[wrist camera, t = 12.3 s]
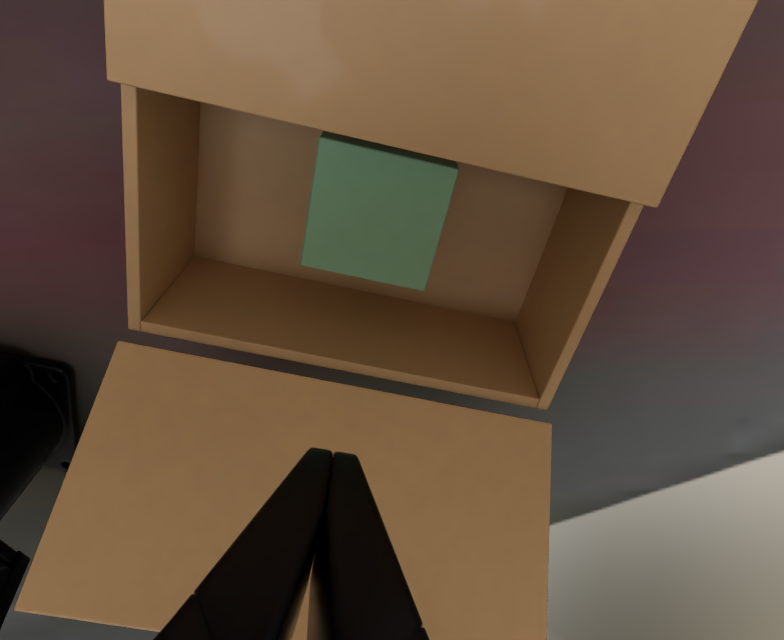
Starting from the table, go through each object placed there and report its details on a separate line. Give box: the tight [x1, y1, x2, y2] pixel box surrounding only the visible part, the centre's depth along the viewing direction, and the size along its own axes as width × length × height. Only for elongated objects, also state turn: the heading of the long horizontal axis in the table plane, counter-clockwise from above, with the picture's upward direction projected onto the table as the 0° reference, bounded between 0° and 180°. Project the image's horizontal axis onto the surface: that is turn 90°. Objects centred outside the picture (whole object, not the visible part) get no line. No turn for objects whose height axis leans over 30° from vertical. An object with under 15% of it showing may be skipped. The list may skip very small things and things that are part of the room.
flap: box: [14, 341, 552, 640], centre depth 16 cm, size 7×14×1 cm
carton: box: [104, 0, 758, 410], centre depth 16 cm, size 15×14×6 cm
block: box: [300, 131, 459, 291], centre depth 18 cm, size 4×4×4 cm
